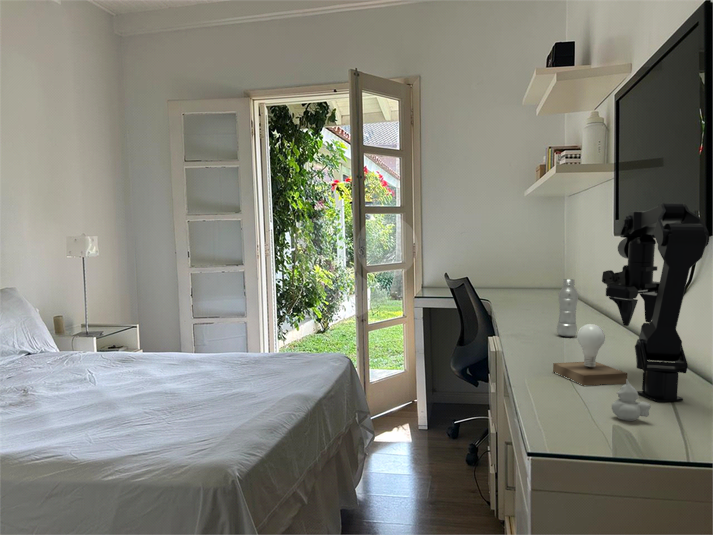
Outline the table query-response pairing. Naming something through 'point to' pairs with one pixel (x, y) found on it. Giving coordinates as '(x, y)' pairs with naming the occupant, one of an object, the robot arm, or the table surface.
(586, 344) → the lightbulb
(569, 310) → the plastic bottle
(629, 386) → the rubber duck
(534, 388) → the table surface
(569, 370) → the walnut plinth
